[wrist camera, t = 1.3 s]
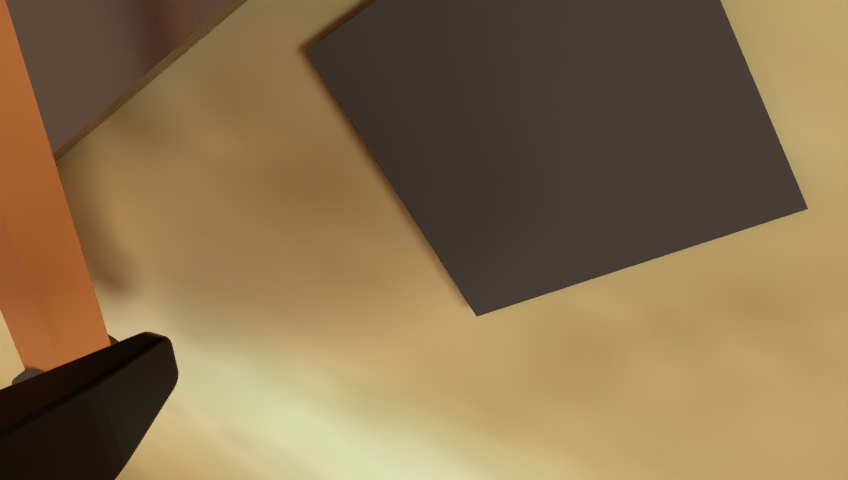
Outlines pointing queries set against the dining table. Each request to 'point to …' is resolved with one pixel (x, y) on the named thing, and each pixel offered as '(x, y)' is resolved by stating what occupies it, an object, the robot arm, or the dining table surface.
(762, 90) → the dining table surface
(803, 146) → the dining table surface
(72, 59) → the socket plate
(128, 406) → the robot arm
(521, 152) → the pad
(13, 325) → the clip
